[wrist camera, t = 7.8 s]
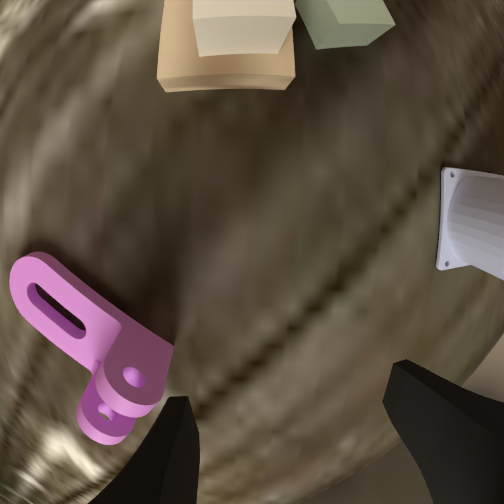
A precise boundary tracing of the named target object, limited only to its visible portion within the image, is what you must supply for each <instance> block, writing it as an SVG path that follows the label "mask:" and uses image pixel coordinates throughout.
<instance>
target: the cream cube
mask: <svg viewBox="0 0 504 504" xmlns="http://www.w3.org/2000/svg"><path fill="white" fill-rule="evenodd" d="M295 19H296V13H295V7H294V2H293V0H193V25H194V30H195V36H196V41H197V47H198V52H199V57H202V56H213V55H228V54H278V52H279V50H280V48H281V46H282V44H283V42H284V40H285V38H286V36H287V34H288V32H289V31H290V29H291V27H292V25H293V23H294V21H295Z"/></svg>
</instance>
